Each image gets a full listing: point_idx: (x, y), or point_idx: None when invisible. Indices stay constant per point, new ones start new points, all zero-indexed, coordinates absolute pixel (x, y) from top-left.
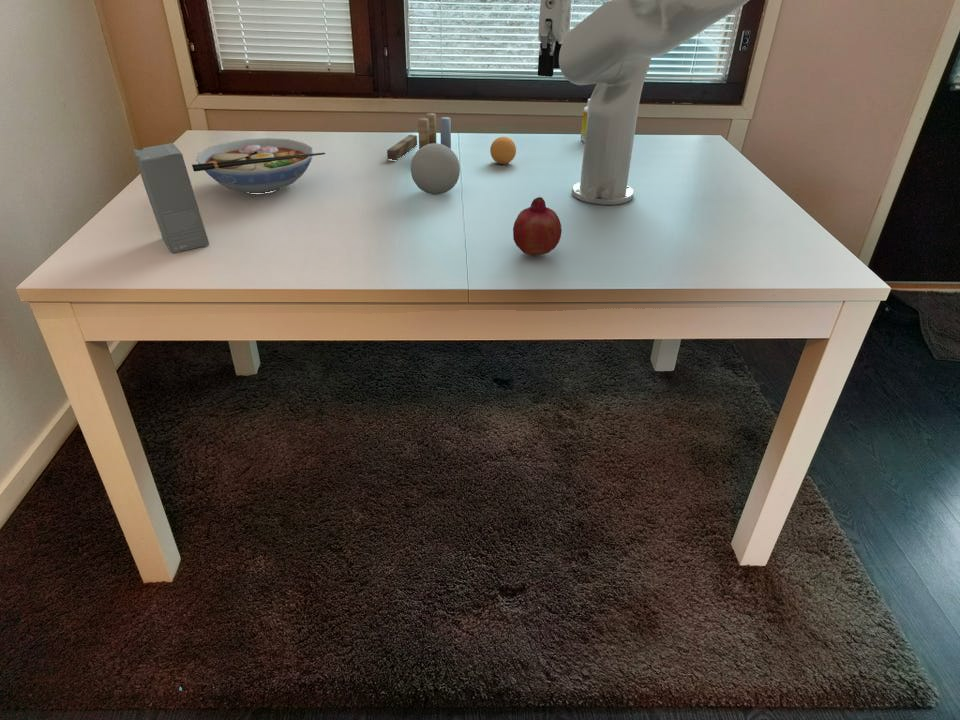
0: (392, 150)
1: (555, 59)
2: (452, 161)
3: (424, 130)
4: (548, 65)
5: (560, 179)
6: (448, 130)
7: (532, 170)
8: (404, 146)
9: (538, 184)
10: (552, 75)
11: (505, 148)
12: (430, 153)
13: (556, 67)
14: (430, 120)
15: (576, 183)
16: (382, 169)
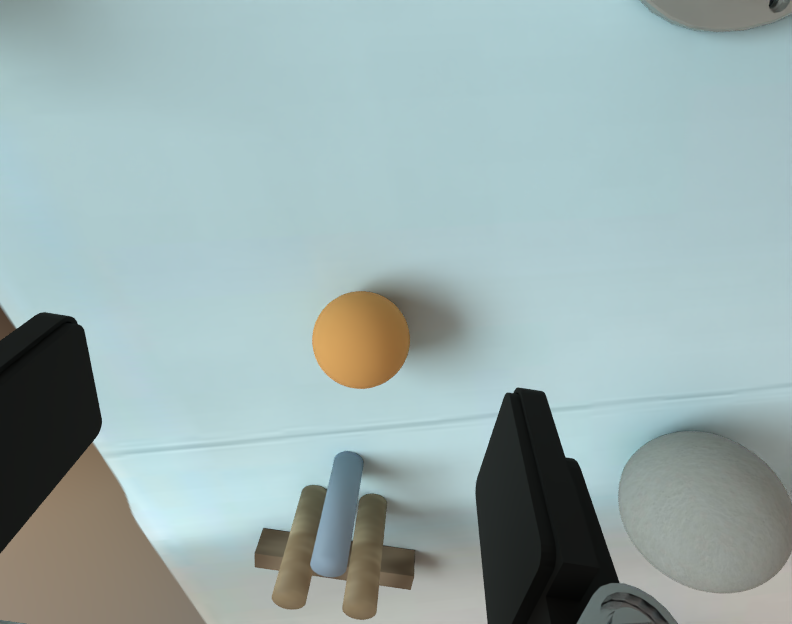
0: (410, 581)
1: (35, 427)
2: (772, 498)
3: (377, 576)
4: (594, 510)
5: (527, 91)
6: (346, 525)
7: (426, 211)
8: (349, 561)
9: (593, 179)
10: (544, 394)
11: (402, 341)
12: (780, 569)
13: (85, 361)
14: (309, 583)
15: (669, 11)
16: (478, 564)
